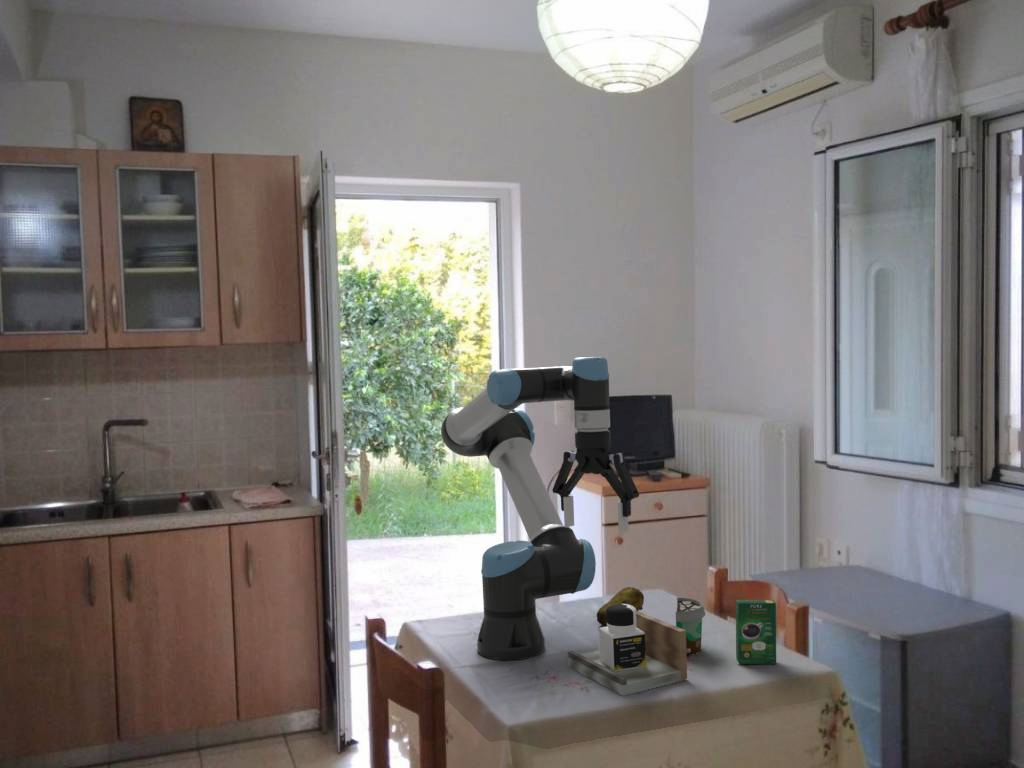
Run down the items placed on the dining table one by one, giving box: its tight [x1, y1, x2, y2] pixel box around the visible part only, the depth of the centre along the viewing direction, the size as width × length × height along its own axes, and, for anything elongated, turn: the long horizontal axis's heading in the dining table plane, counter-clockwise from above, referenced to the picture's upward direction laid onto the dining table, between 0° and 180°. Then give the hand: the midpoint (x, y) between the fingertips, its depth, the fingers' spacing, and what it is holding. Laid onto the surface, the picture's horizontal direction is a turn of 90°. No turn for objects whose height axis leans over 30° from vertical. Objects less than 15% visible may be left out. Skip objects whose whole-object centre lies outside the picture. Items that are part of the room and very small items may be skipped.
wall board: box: [567, 610, 688, 697], centre depth 192 cm, size 20×16×10 cm
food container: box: [675, 596, 706, 656], centre depth 205 cm, size 12×6×10 cm, turn 168°
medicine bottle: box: [598, 604, 646, 672], centre depth 191 cm, size 7×7×12 cm
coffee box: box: [735, 599, 777, 665], centre depth 195 cm, size 8×3×13 cm, turn 86°
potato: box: [596, 586, 645, 627], centre depth 227 cm, size 8×13×8 cm, turn 104°
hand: (595, 529), depth 200 cm, fingers open, 13 cm apart
